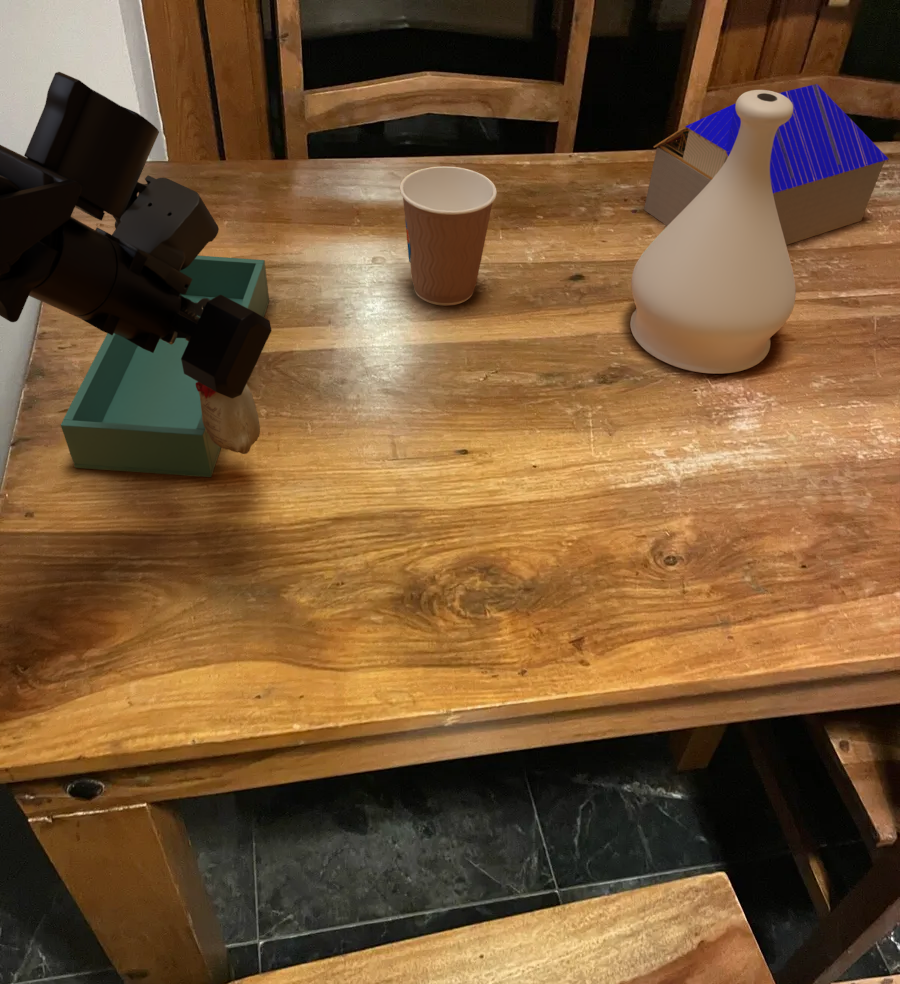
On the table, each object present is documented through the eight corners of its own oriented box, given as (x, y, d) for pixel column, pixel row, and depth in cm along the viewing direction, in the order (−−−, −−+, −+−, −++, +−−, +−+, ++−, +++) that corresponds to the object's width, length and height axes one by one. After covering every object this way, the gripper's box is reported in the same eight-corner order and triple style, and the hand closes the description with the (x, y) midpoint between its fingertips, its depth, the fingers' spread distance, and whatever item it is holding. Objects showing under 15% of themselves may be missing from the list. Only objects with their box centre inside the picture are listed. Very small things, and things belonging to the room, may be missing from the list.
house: (723, 266, 114) (762, 135, 102) (640, 209, 123) (667, 81, 111) (864, 221, 123) (914, 95, 112) (777, 170, 132) (815, 48, 120)
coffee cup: (431, 257, 113) (434, 157, 104) (504, 284, 109) (514, 183, 100) (381, 294, 107) (380, 192, 98) (457, 325, 104) (463, 221, 94)
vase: (766, 296, 110) (844, 68, 91) (789, 386, 99) (882, 146, 80) (619, 284, 111) (666, 53, 92) (625, 371, 99) (679, 129, 80)
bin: (211, 477, 86) (202, 435, 82) (74, 468, 86) (60, 424, 82) (269, 300, 105) (264, 259, 101) (157, 293, 105) (149, 251, 101)
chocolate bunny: (269, 398, 83) (259, 298, 76) (255, 456, 78) (243, 355, 71) (206, 393, 83) (191, 292, 76) (188, 451, 78) (169, 349, 70)
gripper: (235, 206, 58) (356, 295, 72) (43, 118, 65) (188, 215, 79) (160, 369, 60) (293, 424, 74) (-19, 267, 66) (134, 335, 81)
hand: (226, 344), depth 77 cm, fingers closed on chocolate bunny, 5 cm apart
